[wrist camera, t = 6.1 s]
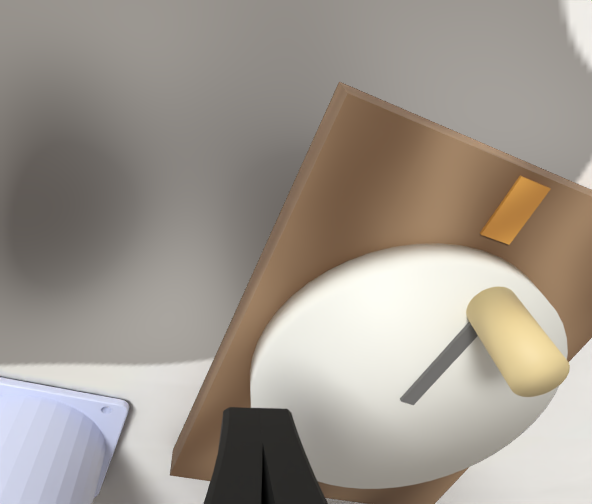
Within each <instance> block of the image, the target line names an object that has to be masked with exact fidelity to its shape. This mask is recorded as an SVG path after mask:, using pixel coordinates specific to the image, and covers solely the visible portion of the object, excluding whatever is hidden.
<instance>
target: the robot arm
mask: <svg viewBox="0 0 592 504" xmlns="http://www.w3.org/2000/svg"><path fill="white" fill-rule="evenodd" d="M128 410H129V404H128V403H127V402H126V401H124V400H121V399H116V398H110V397H105V396H99V395H94V394H89V393H83V392H78V391H72V390H67V389H61V388H56V387H51V386H45V385H40V384H34V383H29V382H23V381H18V380H13V379H7V378H2V377H0V504H92V503H93V499H94V497H96V496H97V495H98V494H99V492H100V489H101V487H102V484H103V481H104V478H105V475H106V473H107V470H108V467H109V464H110V462H111V459H112V456H113V453H114V450H115V448H116V445H117V442H118V439H119V436H120V434H121V431H122V428H123V425H124V423H125V420H126V417H127V414H128ZM204 504H328V503H327V501H326V499H325V497H324V495H323V492H322V490H321V488H320V486H319V484H318V481H317V479H316V477H315V475H314V472H313V470H312V468H311V465H310V463H309V460H308V458H307V455H306V453H305V450H304V448H303V445H302V443H301V440H300V437H299V434H298V432H297V429H296V426H295V423H294V420H293V416H292V413H291V412H290V411H289V410H288V409H281V408H242V407H229V408H227V409H225V410H224V411H223V417H222V424H221V432H220V440H219V447H218V454H217V459H216V463H215V467H214V471H213V475H212V478H211V481H210V485H209V488H208V491H207V495H206V498H205V501H204Z"/></svg>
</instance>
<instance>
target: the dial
mask: <svg viewBox="0 0 592 504" xmlns="http://www.w3.org/2000/svg"><path fill="white" fill-rule="evenodd" d="M567 354H568V349H567V337H566V333H565V329H564V326H563V323H562V321H561V319H560V317H559V315H558V313H557V311H556V310H555V309H554V307H553V306H552V305H551V304H550V303H549V301H548V300H547V299H546V298H545V297H544V295H543V294H542V293H541V292H540V291H539V290H538V288H537V287H536V286H535V285H534V284H533V283H532V282H531V280H530V279H529V278H528V277H527V276H526V275H525V274H524V273H522V272H521V271H520V270H519V269H518V268H516V267H515V266H514V265H512V264H511V263H509V262H507V261H505V260H504V259H502V258H500V257H498V256H495V255H493V254H490V253H488V252H485V251H482V250H479V249H475V248H470V247H466V246H462V245H452V244H441V243H432V244H412V245H405V246H397V247H392V248H388V249H383V250H379V251H375V252H371V253H368V254H366V255H363V256H360V257H357V258H355V259H352V260H349V261H347V262H345V263H343V264H341V265H339V266H337V267H334V268H332V269H330V270H328V271H327V272H325V273H323V274H322V275H320V276H319V277H317V278H315V279H314V280H312V281H311V282H309V283H308V284H306V285H305V286H304V287H303V288H301V289H300V290H299V291H298V292H296V293H295V294H294V295H293V296H292V297H291V298H290V299H289V300H288V301H287V302H286V303H285V304H284V305H283V306H282V307H281V308H280V309H279V310H278V311H277V312H276V314H275V315H274V316H273V318H272V319H271V320H270V322H269V323H268V324H267V326H266V327H265V329H264V331H263V333H262V335H261V336H260V338H259V340H258V342H257V345H256V348H255V351H254V354H253V357H252V362H251V368H250V396H251V408H281V409H288V410H289V411H290V412H291V413H292V416H293V420H294V423H295V426H296V429H297V432H298V434H299V437H300V440H301V443H302V445H303V448H304V450H305V453H306V455H307V458H308V460H309V463H310V465H311V468H312V470H313V472H314V475H315V477H316V479H317V481H318V482H322V483H326V484H329V485H335V486H340V487H347V488H359V489H382V488H395V487H402V486H409V485H415V484H419V483H423V482H428V481H432V480H435V479H438V478H441V477H445V476H448V475H451V474H453V473H456V472H458V471H461V470H464V469H466V468H468V467H470V466H472V465H474V464H476V463H479V462H481V461H482V460H484V459H486V458H488V457H489V456H491V455H493V454H495V453H496V452H498V451H499V450H501V449H502V448H504V447H505V446H507V445H508V444H510V443H511V442H512V441H513V440H515V439H516V438H517V437H518V436H520V435H521V434H522V433H523V432H524V431H525V430H526V429H527V428H528V427H530V426H531V425H532V424H533V423H534V422H535V421H536V419H537V418H538V417H539V416H540V415H541V413H542V412H543V411H544V410H545V409H546V407H547V406H548V404H549V403H550V401H551V400H552V398H553V397H554V395H555V393H556V391H557V389H558V387H559V385H560V384H561V383H562V382H563V381H564V380H565V378H566V377H567V375H568V373H569V368H570V367H569V363H568V361H567Z"/></svg>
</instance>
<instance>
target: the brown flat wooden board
mask: <svg viewBox="0 0 592 504" xmlns="http://www.w3.org/2000/svg"><path fill="white" fill-rule="evenodd" d="M432 243H441V244H452V245H462V246H466V247H470V248H475V249H479V250H482V251H485V252H488V253H490V254H493V255H495V256H498V257H500V258H502V259H504V260H505V261H507V262H509V263H511V264H512V265H514V266H515V267H516V268H518V269H519V270H520V271H521V272H522V273H524V274H525V275H526V276H527V277H528V278H529V279H530V280H531V282H532V283H533V284H534V285H535V286H536V287H537V288H538V290H539V291H540V292H541V293H542V294H543V295H544V297H545V298H546V299H547V300H548V301H549V303H550V304H551V305H552V306H553V307H554V309H555V310H556V311H557V313H558V315H559V317H560V319H561V321H562V323H563V326H564V329H565V333H566V337H567V349H568V354H567V361H568V362H569V361H570V360H571V359H572V358H573V357H574V356H575V355H576V354H577V353H578V352H579V351H580V350H581V349H582V347H583V346H584V345H585V344H586V343H587V342H588V341H589V340H590V339H591V338H592V190H591V189H588V188H586V187H584V186H581V185H579V184H577V183H574V182H572V181H570V180H567V179H565V178H563V177H560V176H558V175H556V174H553V173H551V172H549V171H546V170H544V169H542V168H539V167H537V166H535V165H532V164H530V163H527V162H525V161H523V160H521V159H518V158H516V157H514V156H511V155H509V154H507V153H504V152H502V151H499V150H497V149H495V148H493V147H490V146H488V145H485V144H483V143H481V142H478V141H476V140H474V139H472V138H469V137H467V136H465V135H462V134H460V133H458V132H455V131H453V130H451V129H449V128H446V127H444V126H442V125H439V124H437V123H435V122H432V121H430V120H428V119H425V118H423V117H421V116H418V115H416V114H414V113H411V112H409V111H407V110H404V109H402V108H399V107H397V106H395V105H393V104H390V103H388V102H386V101H383V100H381V99H379V98H376V97H374V96H372V95H369V94H367V93H365V92H362V91H360V90H358V89H355V88H353V87H351V86H348V85H346V84H344V83H341V82H339V83H338V86H337V88H336V90H335V92H334V94H333V97H332V99H331V101H330V103H329V106H328V108H327V110H326V112H325V114H324V117H323V119H322V121H321V123H320V125H319V128H318V130H317V132H316V134H315V137H314V139H313V141H312V144H311V145H310V148H309V150H308V152H307V154H306V157H305V159H304V161H303V163H302V165H301V167H300V170H299V172H298V174H297V176H296V179H295V181H294V183H293V185H292V188H291V190H290V192H289V194H288V197H287V198H286V201H285V203H284V205H283V207H282V210H281V212H280V214H279V217H278V219H277V221H276V223H275V225H274V227H273V230H272V232H271V234H270V236H269V239H268V241H267V243H266V245H265V247H264V249H263V252H262V254H261V256H260V258H259V260H258V263H257V265H256V267H255V269H254V272H253V274H252V276H251V278H250V280H249V283H248V285H247V287H246V289H245V292H244V294H243V296H242V298H241V300H240V303H239V305H238V307H237V309H236V312H235V314H234V316H233V318H232V320H231V322H230V325H229V327H228V329H227V331H226V334H225V336H224V338H223V340H222V342H221V345H220V347H219V349H218V351H217V353H216V356H215V358H214V360H213V362H212V365H211V367H210V369H209V371H208V373H207V376H206V378H205V380H204V382H203V384H202V387H201V389H200V391H199V393H198V396H197V398H196V400H195V402H194V404H193V407H192V409H191V411H190V413H189V416H188V418H187V420H186V422H185V424H184V427H183V429H182V431H181V433H180V435H179V438H178V440H177V442H176V444H175V447H174V449H173V454H172V462H171V470H170V475H171V476H178V477H185V478H192V479H199V480H206V481H211V478H212V475H213V471H214V467H215V463H216V459H217V454H218V447H219V440H220V432H221V424H222V417H223V411H224V410H225V409H227V408H229V407H242V408H251V396H250V368H251V362H252V357H253V354H254V351H255V348H256V345H257V342H258V340H259V338H260V336H261V335H262V333H263V331H264V329H265V327H266V326H267V324H268V323H269V322H270V320H271V319H272V318H273V316H274V315H275V314H276V312H277V311H278V310H279V309H280V308H281V307H282V306H283V305H284V304H285V303H286V302H287V301H288V300H289V299H290V298H291V297H292V296H293V295H294V294H295V293H296V292H298V291H299V290H300V289H301V288H303V287H304V286H305V285H306V284H308V283H309V282H311V281H312V280H314V279H315V278H317V277H319V276H320V275H322V274H323V273H325V272H327V271H328V270H330V269H332V268H334V267H337V266H339V265H341V264H343V263H345V262H347V261H349V260H352V259H355V258H357V257H360V256H363V255H366V254H368V253H371V252H375V251H379V250H383V249H388V248H392V247H397V246H405V245H412V244H432ZM468 468H469V467H468ZM468 468H466V469H464V470H461V471H458V472H456V473H453V474H451V475H448V476H445V477H441V478H438V479H435V480H432V481H428V482H423V483H419V484H415V485H409V486H402V487H395V488H382V489H359V488H347V487H340V486H335V485H329V484H326V483H322V482H318V484H319V486H320V488H321V490H322V492H323V495H324V497H325V498H332V499H338V500H345V501H352V502H359V503H366V504H435V503H436V502H437V501H438V500H439V499H440V498H441V496H442V495H443V494H444V493H445V492H446V491H447V490H448V489H449V488H450V487H451V486H452V485H453V484H454V483H455V482H456V481H457V480H458V479H459V477H460V476H461V475H462V474H463V473H464V472H465V471H466V470H467V469H468Z"/></svg>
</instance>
